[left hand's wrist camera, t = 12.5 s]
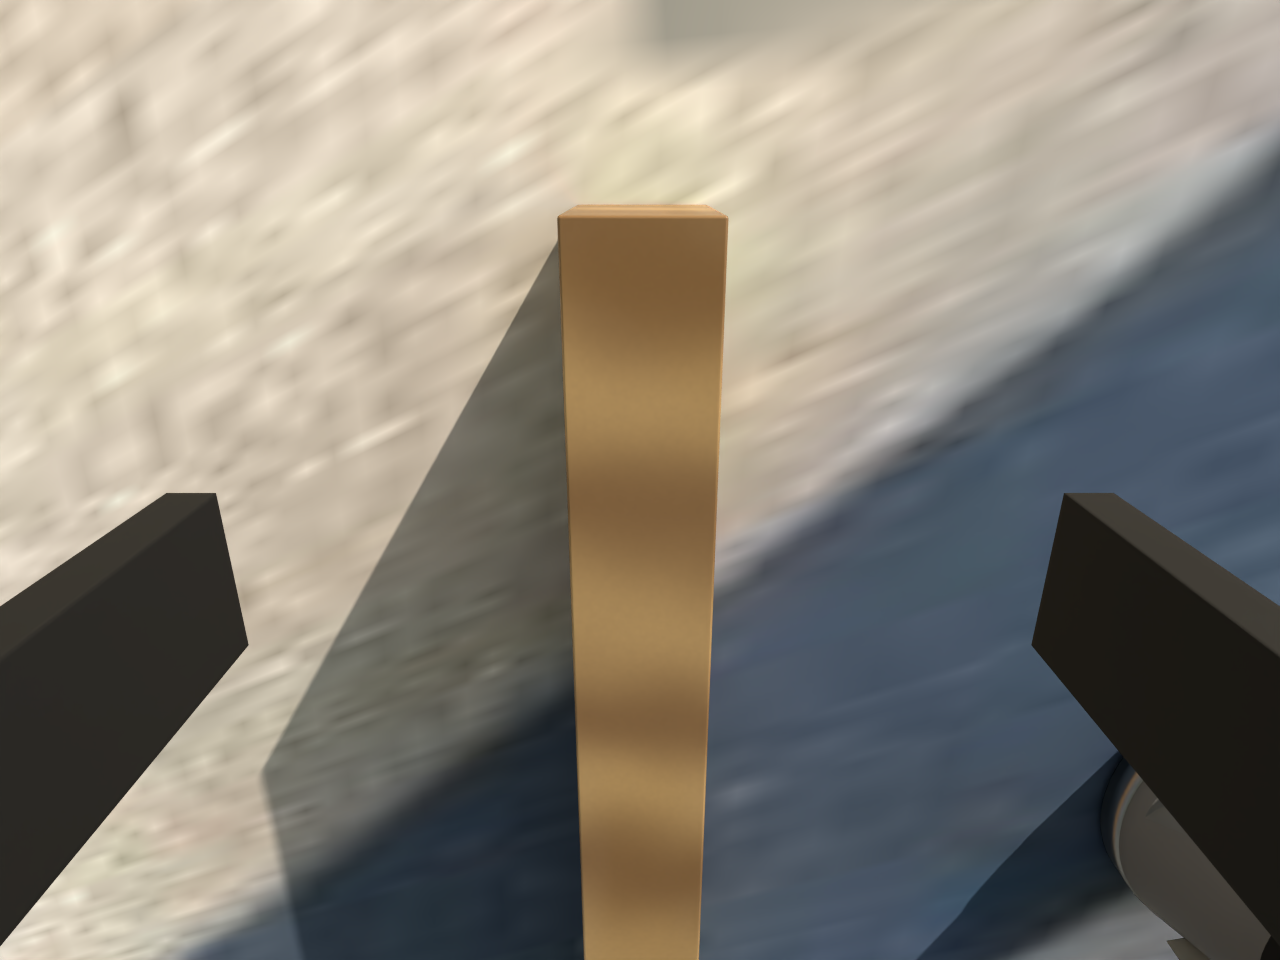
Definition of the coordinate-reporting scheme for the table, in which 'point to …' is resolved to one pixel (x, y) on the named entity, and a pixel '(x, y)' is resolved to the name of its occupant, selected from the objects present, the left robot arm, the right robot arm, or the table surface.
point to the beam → (642, 558)
